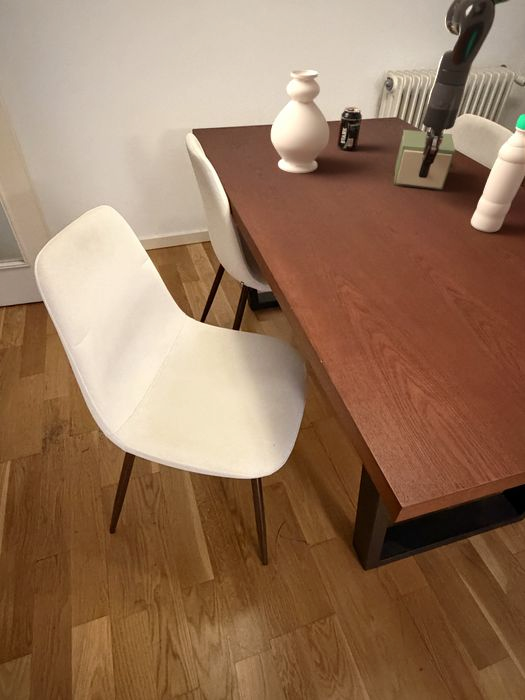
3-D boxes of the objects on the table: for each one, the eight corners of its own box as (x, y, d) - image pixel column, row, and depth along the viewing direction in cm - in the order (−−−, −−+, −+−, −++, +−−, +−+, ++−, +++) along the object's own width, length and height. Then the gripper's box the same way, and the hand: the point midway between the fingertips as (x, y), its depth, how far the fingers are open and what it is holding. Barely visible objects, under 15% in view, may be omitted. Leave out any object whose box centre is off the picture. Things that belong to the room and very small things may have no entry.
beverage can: (336, 144, 143) (341, 106, 135) (355, 145, 143) (361, 106, 135) (337, 151, 138) (343, 112, 130) (357, 151, 138) (364, 112, 130)
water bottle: (499, 235, 98) (553, 122, 80) (469, 230, 100) (515, 118, 82) (499, 223, 103) (549, 113, 85) (469, 218, 104) (513, 109, 87)
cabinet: (442, 190, 117) (455, 150, 109) (393, 184, 119) (403, 145, 111) (439, 171, 127) (451, 134, 119) (395, 166, 129) (404, 129, 122)
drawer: (441, 190, 114) (452, 157, 108) (396, 184, 117) (404, 152, 110) (439, 170, 125) (448, 139, 118) (397, 166, 127) (405, 135, 121)
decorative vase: (332, 161, 132) (344, 69, 114) (314, 180, 120) (324, 82, 103) (282, 152, 137) (286, 63, 119) (261, 170, 125) (261, 75, 108)
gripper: (462, 113, 92) (437, 188, 104) (458, 98, 101) (436, 169, 113) (428, 109, 93) (407, 184, 105) (427, 96, 102) (408, 166, 114)
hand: (422, 176), depth 109 cm, fingers closed
